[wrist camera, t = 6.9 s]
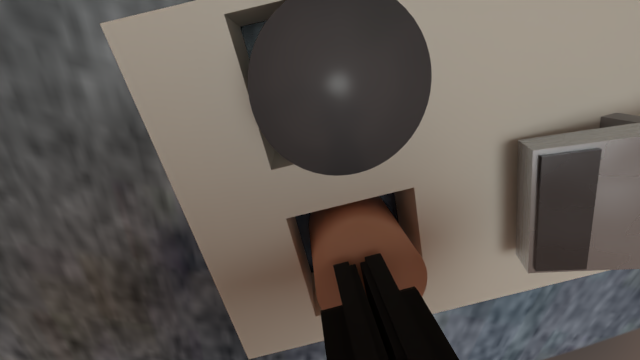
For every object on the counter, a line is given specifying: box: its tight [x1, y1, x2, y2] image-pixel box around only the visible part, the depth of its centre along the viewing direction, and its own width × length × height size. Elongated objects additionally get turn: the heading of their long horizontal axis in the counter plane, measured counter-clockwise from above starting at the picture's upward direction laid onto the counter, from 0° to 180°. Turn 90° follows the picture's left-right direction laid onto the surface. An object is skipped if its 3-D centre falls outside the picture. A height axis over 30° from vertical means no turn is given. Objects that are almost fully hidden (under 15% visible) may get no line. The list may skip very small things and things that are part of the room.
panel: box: [100, 0, 640, 359], centre depth 12 cm, size 24×14×4 cm, turn 103°
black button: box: [248, 0, 432, 176], centre depth 9 cm, size 4×4×4 cm
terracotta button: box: [309, 196, 427, 310], centre depth 13 cm, size 4×4×4 cm
